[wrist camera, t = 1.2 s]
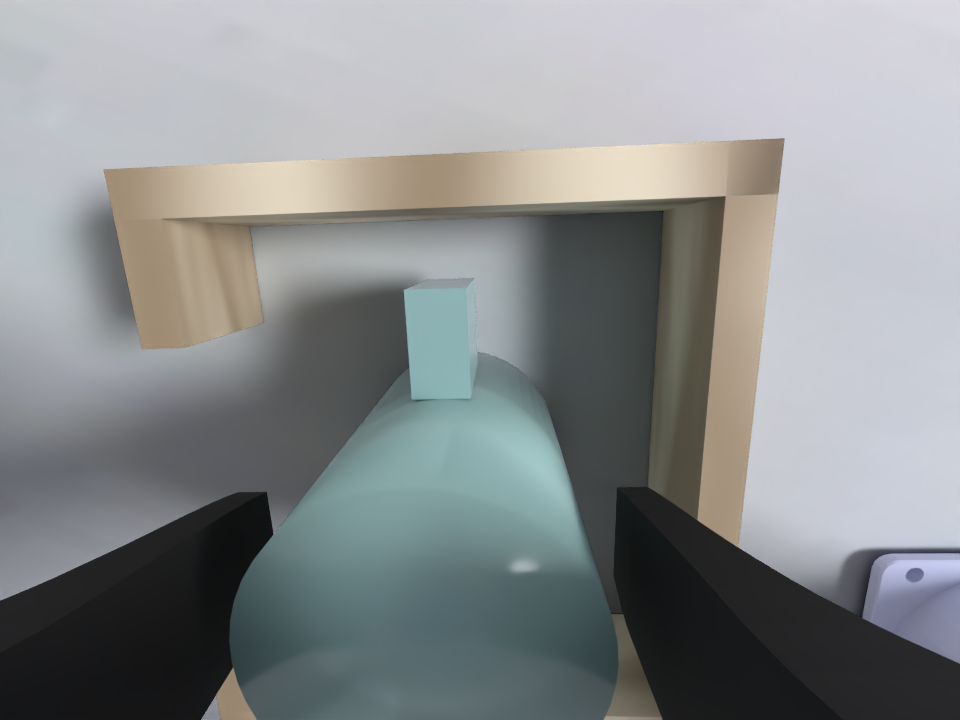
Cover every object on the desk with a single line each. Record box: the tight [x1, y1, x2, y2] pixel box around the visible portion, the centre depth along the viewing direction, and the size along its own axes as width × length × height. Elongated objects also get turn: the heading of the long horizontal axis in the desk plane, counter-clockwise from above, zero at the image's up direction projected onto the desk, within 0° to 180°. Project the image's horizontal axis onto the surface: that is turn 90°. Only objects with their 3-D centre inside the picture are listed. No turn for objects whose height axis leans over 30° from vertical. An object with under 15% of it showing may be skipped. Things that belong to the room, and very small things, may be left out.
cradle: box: [104, 138, 784, 720], centre depth 12 cm, size 14×15×4 cm
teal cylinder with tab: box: [229, 278, 619, 720], centre depth 10 cm, size 6×8×8 cm
